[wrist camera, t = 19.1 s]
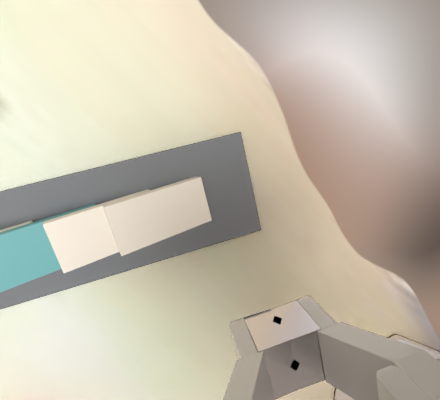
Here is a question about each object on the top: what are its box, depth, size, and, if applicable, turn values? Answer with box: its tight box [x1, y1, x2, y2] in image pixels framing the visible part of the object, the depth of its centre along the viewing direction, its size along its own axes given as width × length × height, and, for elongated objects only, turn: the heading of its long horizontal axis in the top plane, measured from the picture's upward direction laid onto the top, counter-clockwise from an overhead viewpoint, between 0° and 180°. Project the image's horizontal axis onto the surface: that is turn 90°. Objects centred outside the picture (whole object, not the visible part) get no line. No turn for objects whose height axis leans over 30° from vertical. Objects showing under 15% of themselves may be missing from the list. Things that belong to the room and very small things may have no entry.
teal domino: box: [0, 203, 95, 292], centre depth 26 cm, size 2×5×10 cm
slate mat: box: [0, 132, 261, 309], centre depth 29 cm, size 32×12×1 cm, turn 103°
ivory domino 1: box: [43, 189, 150, 273], centre depth 27 cm, size 2×5×10 cm
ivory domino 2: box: [103, 176, 212, 256], centre depth 28 cm, size 2×5×10 cm
